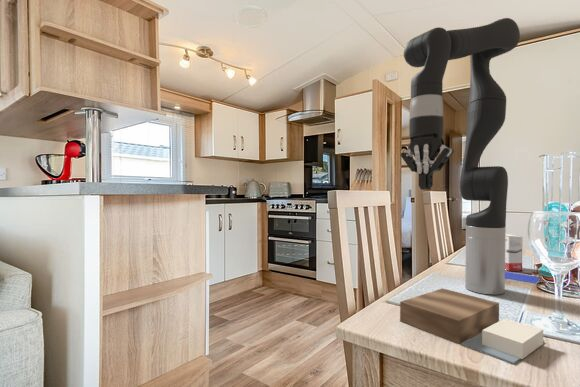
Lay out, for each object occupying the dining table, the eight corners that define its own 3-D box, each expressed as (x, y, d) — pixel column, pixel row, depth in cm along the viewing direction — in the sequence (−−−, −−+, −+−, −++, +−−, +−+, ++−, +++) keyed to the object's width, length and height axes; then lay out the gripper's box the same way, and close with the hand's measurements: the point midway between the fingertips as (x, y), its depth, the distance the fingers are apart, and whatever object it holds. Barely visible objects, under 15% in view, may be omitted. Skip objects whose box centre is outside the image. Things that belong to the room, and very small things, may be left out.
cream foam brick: (543, 329, 57) (543, 343, 57) (504, 318, 62) (504, 331, 62) (522, 343, 52) (522, 359, 52) (482, 330, 57) (482, 344, 57)
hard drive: (486, 273, 103) (536, 282, 94) (493, 269, 108) (540, 276, 100) (486, 278, 103) (536, 287, 94) (493, 273, 108) (540, 281, 100)
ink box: (523, 271, 110) (523, 236, 110) (508, 271, 110) (508, 236, 110) (506, 265, 118) (507, 232, 118) (492, 265, 118) (493, 232, 118)
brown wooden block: (442, 305, 77) (442, 288, 77) (498, 322, 67) (499, 302, 67) (400, 321, 68) (400, 301, 67) (458, 343, 58) (458, 320, 58)
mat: (495, 326, 65) (495, 325, 65) (544, 342, 58) (544, 340, 58) (461, 344, 57) (461, 342, 57) (513, 364, 51) (513, 362, 51)
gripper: (461, 114, 76) (461, 189, 76) (411, 123, 87) (410, 189, 87) (444, 109, 71) (443, 189, 72) (393, 120, 82) (392, 189, 82)
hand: (425, 189), depth 79 cm, fingers closed
